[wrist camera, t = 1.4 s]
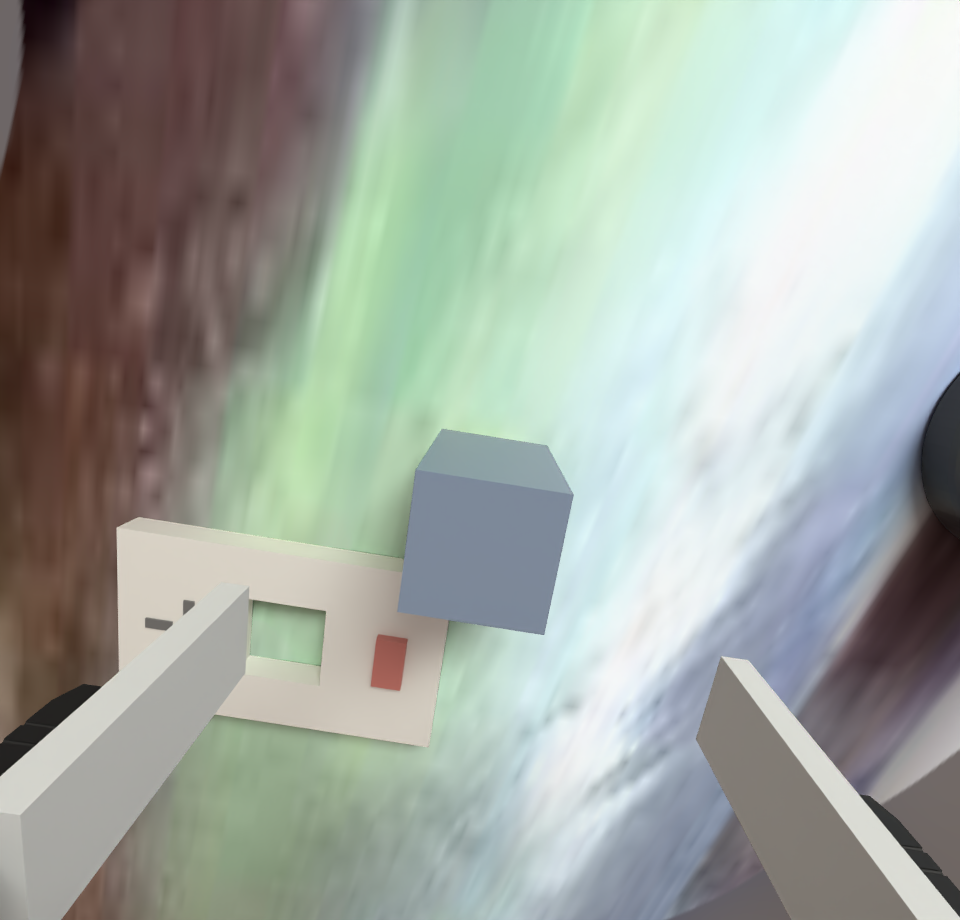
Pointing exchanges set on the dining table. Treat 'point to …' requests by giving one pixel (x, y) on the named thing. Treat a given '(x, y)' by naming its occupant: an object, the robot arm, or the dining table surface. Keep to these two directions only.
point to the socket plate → (303, 583)
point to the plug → (485, 532)
